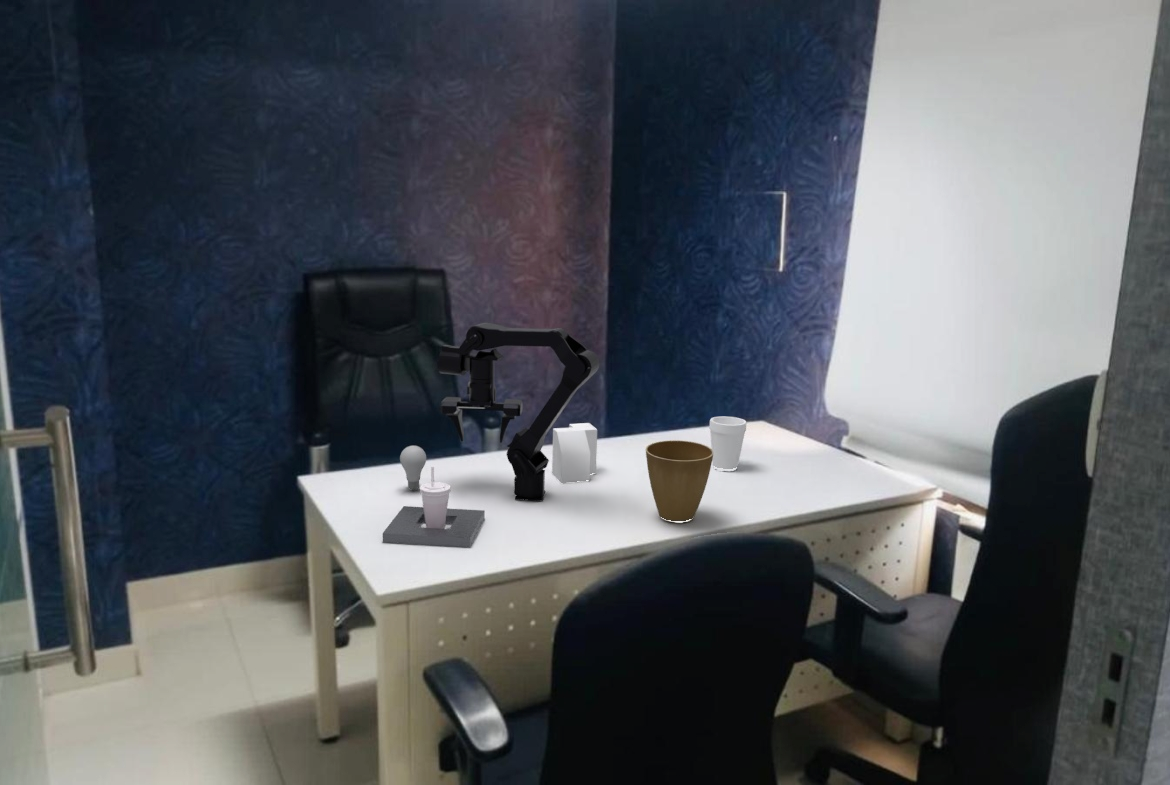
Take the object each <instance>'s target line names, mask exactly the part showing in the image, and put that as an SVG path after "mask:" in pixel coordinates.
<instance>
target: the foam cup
mask: <svg viewBox="0 0 1170 785" xmlns="http://www.w3.org/2000/svg"><path fill="white" fill-rule="evenodd" d="M709 431H710V443H711V447H710V448H711V449H712V450H713V452H714V454H713V459H712V467H713V466H715V467H717V468H723V469H733V468H736V467H737V466H738V467H739V461H740V459H741V458H740V457H741V452H742V449H743V443H744V439H745V434H746V431H747V421H746V420H745V419H743V418H739V417H736V416H723V415H722V416H714V417H711V418H710V420H709ZM738 467H737V468H738Z"/></svg>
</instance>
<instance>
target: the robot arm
mask: <svg viewBox="0 0 1170 785" xmlns="http://www.w3.org/2000/svg"><path fill="white" fill-rule="evenodd" d="M506 346H507V347H547V348H548V347H550V348H551V349H552V350H553V351H554V353H555V355H556V356H557V358H558V360H559V361H560V362H561V363H562V364H563V365H564V366H565V367H564V370H563V372H562V374H561V378H560V382H559V384H558V385H557V386H556V388H555V390H554V391H553V393H552V394H551V396H550V397H549V399H548V400H547V402H546V403H545V405H544V406H543V407H542V409H541V410H540V412H539V413H538V415H537V416H536V418H535V419H534V421H533V422H532V424H531V426H530V427H529V428H527V426H526V427H524V428H522V429H520V430H519V431H517V432H516V433H515V435H514V436H513V439H512V440H511V442H510V443H509V444H507V445H506V447H507V448H508V449H507V452H506V458H507V460H508V462H509V464H510V465H511V467H512V471H513V473H514V479H513V480H514V481H513V495H514V496H515V497H514V500H516V501H529V502H530V501H531V502H542V501H544V498H545V496H546V490H545V483H546V482H545V480H546V479H545V477H546V476H545V475H546V473H545V472H546V471H545V469H546V468H547V467H548V464H549V462H550V460H549V458H548V457H547V456H546V455H545V453H543V452H542V448H543V446H544V443H545V438H546V436H547V434H548V433H549V431H550V430H551V428H552V427H553V426H554V424H555V422H556V421H557V419H558V418H559V417H560V416H561V414H562V413H563V411H564V409H565V408H566V406H567V405H569V402H570V400H571V399H572V398H573V397H574V395H575V394H576V392H577V390H579V389H580V388H581V387H582V386H583V385H584V384H585V383H586V382H587V381H588V380H590V379H591V377H593V376H594V375H595V374H596V372H598V370H599V369H600V364H601V363H600V359H599V357H598V355H597V354H596V353H595V352H594V351H592V350H589V349H588V348H586V346H584V344H582V343H581V342H580V341H578V340H577V339H576V338H574V337H573V336H571V335H570V333H569V332H568V331H567V330H565V329H564V328H562V327H557V328H524V327H523V328H515V327H513V328H512V327H506V326H503V325H501V324H497V323H492V322H482V323H479V324H476V325H472V326H470V327H469V328H468V329H467V332H466V334H465V339H464V341H463V342H462V343H461V344H460V346H456V345H455V346H454V345H450V344H444V345H442V346H441V351H440V352H439V355H438V358H437V361H436V367H437V370H438V373H440V374H441V375H442V374H444V375H454V376H465V375H466V374H467V373H468V372H469V381H467V385H466V386H467V388H466V394H467V395H468V396H469V401H462V398H461V397H460V396H459V397H458V396H457V397H456V396H445V397H444V399H443V400H442V401H441V402H440V409H439V411H440V413H439V414H445V417H446V418H450V420H451V422H452V423H453V425H454V427H455V430H456V432H457V434H458V436H459V438H460V442H464V440H465V439H464V438H465V436H464V435H465V432H464V423H463V410H464V411H465V410H466V411H468V410H470V411H490V412H491V411H493V412H502V413H503V414H502V417H501V424H500V433H499V442H500V444H502V443H503V440H504V438H505V435H506V431H507V429H508V425H509V423H510V421H512V420H516V417H520V416H521V415H522V413H523V401H522V400H521V399H517V398H516V399H515V398H505V400H504V402H496V400H497V387H496V386H495V362H497V361H499V360H501V359H503V358H504V355H503V354H502V353H501V352H499V351H498V349H497V348H499V347H506ZM491 349H492V350H491ZM483 350H484V351H483ZM486 350H488V351H486ZM489 350H490V351H489ZM474 351H477V353H472V352H474Z"/></svg>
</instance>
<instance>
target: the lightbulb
mask: <svg viewBox="0 0 1170 785" xmlns="http://www.w3.org/2000/svg"><path fill="white" fill-rule="evenodd" d="M399 460H400V461H399V462H400V465H401V467H402V468H403V470H404V473H405V476H406V480H407V488H408V489H409V490H411V491H416V490H418V489H420V480H421V474H422V471H423V469H424V467H425V465H426V462H427V455H426V452H425V451H424V449H423V448H422V447H420V446H418V445H409V446H406V447H405V448H403V450H402V451H401V453H400V456H399Z"/></svg>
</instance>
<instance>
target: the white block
mask: <svg viewBox="0 0 1170 785" xmlns="http://www.w3.org/2000/svg"><path fill="white" fill-rule="evenodd" d="M597 447H598V429H597V428H596V427H595V426H594V425H592V424H591V423H590V422H584V423H583V422H582V423H580V422H579V423H569V425H568V427H557V428H552V461H551V462H552V463H551V464H552V465H551V467H552V469H551V470H552V471H551V472H552V473H553V474H552V473H551V474H552V476H554V477H555V478H556V480H557V479H558V480H559V481H560V482H561V483H563V484H567V483H566V482H575V483H578V482H577V481H586V480H589V481H590V476H591V475H590V474H592V473H596V474H597V454H598V451H597V450H598V448H597ZM558 480H557V481H558ZM559 481H558V482H559ZM560 482H559V483H560ZM561 483H560V484H561Z"/></svg>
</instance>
